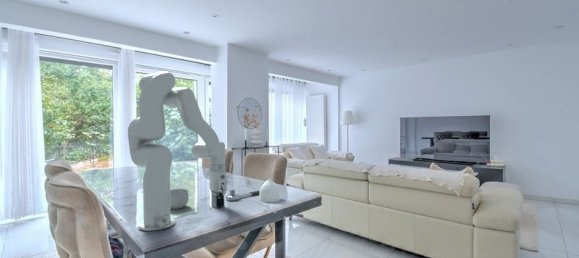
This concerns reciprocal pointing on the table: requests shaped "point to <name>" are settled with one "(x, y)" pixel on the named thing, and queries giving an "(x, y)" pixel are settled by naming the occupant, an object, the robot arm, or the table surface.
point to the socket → (215, 199)
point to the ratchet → (236, 197)
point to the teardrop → (269, 192)
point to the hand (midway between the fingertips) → (218, 205)
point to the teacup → (178, 198)
